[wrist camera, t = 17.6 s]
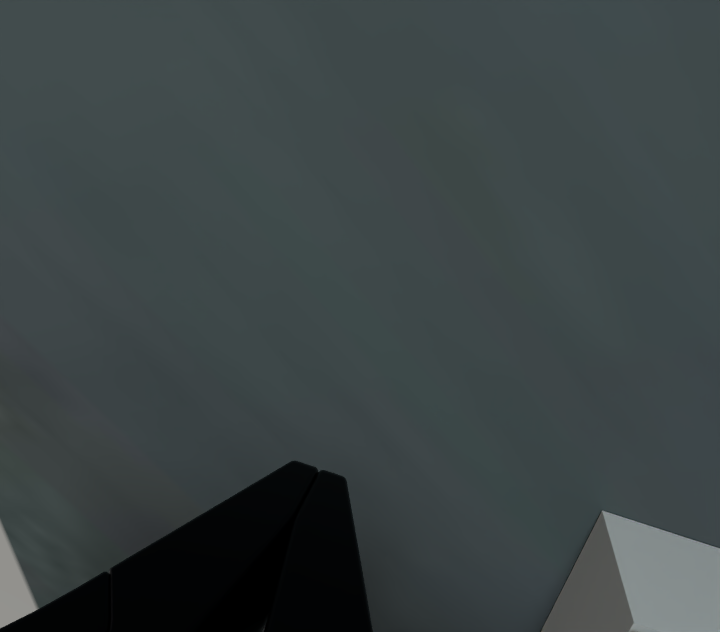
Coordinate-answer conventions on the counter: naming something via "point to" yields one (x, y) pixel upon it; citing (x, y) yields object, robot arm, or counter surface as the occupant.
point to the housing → (639, 582)
